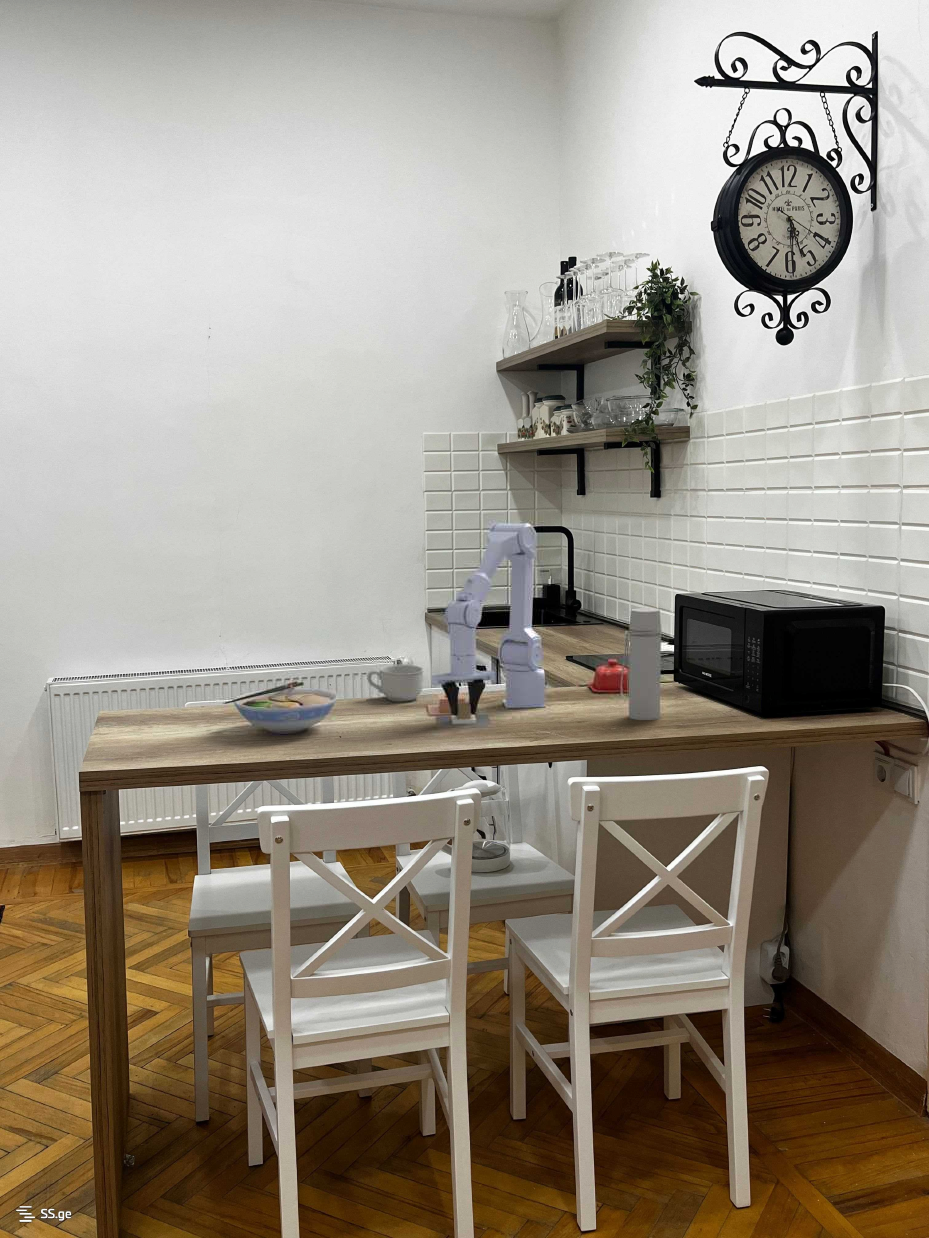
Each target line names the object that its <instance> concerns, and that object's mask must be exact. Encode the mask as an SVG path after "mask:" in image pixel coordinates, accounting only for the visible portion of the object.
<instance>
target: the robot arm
mask: <svg viewBox="0 0 929 1238" xmlns="http://www.w3.org/2000/svg"><path fill="white" fill-rule="evenodd" d="M537 534H538V533H537V532H536V530H535V528H534V527H533V525H532V524H531V523H527V522H526V523H500V522H495V523H493V524H492V525H491V527H490V528H489V532H487V534H486V539H487V547H486V550H485V552H484V554H483V556H482V559H481V561H480V563H479V565H478V568H477V570H476V572H475V573H471V574H469V575H468V577H467V579H466V581H464V584H463V586H462V588H461V589H460V591H459V593H458V595H457V597H456V598H455V600H453V601H451V602H450V603H448V604H447V606H446V607H445V611H444V612H445V613H444V614H443V618H444V621H445V624H446V625H447V626H446V627H447V632H448V633H449V642H450V643H449V649H450V650H449V654H450V655H449V656H450V659H449V660H450V662H449V663H450V665H449V666H450V667H449V668H450V672H447V673H442V674H434V675H431V685H433V686H441V688H442V690H443V692H444V694H446V696H447V699H448V702H449V705H450V709H451V714H452V715H454V716H458V694H460V687H459V686H457V685H458V683H459V684H460V683H466V684H467V690H468V698H469V699H468V703H470V705H471V713H472V714H476V713H477V709H478V706H479V705H478V704H479V701H480V698H481V696H482V694H483V691H484V690H485V688H486V681H495V680H496V679H495V675H496V674H495V673H496V672H495V671H493V670H479V671H478V670H477V647H476V646H477V645H476V644H477V643H476V641H477V640H476V639H477V638H476V635H477V633H476V632H477V630H476V628H477V626H478V624H479V623H480V622H481V620H482V611H483V609H484V605H483V604H484V602H485V600H486V598H487V596H488V594H489V593H490V591H491V589H492V582H491V578H493V575H494V574H495V572H496V571H497V570H498V567H499V566H500V565H501V563H502V562H503V561H504V559H505V557H506V558H507V560H508V561H509V562H510V563H511V574H510V575H511V578H510V579H511V580H510V603H509V604H510V607H509V609H510V610H509V628H508V629H507V630H506V631H505V632H504V633H502V634H501V636H500V642H499V643H500V644H499V646H498V650H497V658H498V660H499V663H500V664H501V665H502V668H503V669H505V699H503V700H502V703H503V705H504V707H505V708H506V709H524V708H528V709H529V708H546V674H545V670H544V668H539V667H540V666H541V665H542V663H543V660H544V650H543V646H542V636H540V635H539V634H538V633H537V632H536V631H535V630H534V629H533V628H532V627H533V626H532V625H533V623H532V622H533V600H534V599H533V597H534V594H533V593H534V570H535V567H534V566H535V558H536V557H537ZM452 715H451V716H452ZM476 715H477V714H476Z"/></svg>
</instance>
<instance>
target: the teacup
mask: <svg viewBox="0 0 929 1238" xmlns="http://www.w3.org/2000/svg"><path fill="white" fill-rule="evenodd" d="M423 673H424V667H421V666H420V665H419V666H418V665H413V664H390V665H386V666H383V667H381V668H380V670H377V669H371V670H370V671H369V672H368V673H367V675H366V681H367V682H368V683H369V685H370V686H372V688H374V689H376V690H378V692H379V693H380V694H383V695H384V696H385V697H386V698H387V700H390V701H392V702H399V703H400V702H410V701H413V700H416V699H417V698H418V696H420V695H421V693H422V691H423V682H424V674H423ZM373 675H377V676H378V679H379V681H380V685H378V684H376V683H375V682H373V680H372V676H373Z"/></svg>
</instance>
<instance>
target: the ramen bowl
mask: <svg viewBox="0 0 929 1238" xmlns="http://www.w3.org/2000/svg"><path fill="white" fill-rule="evenodd" d="M300 686H304V681H303V682H302V681H300V682H298V681H293V682H289V683H286V684H283V685H279V686H275V687H272V688H269V689H262V690H256V691H255V690H254V691H250V692H246V693H242V694H240V695H237V696H235V697H234V698H233V699H232V700H229V701H226V702H223V703H222V705H223V704H227V705H228V704H231V703H232V704H233V705H234V707H235V709H236V710H237V711H238V712H239V713H240V715H241V716H242V717H243V718H244V719H245V720H246V721H247V722H248V723H250V724H251V725H253V726H255V727H258V728H259V729H263V730H267V731H269V732H270V733H272V734H280V735H287V734H296V733H300V732H302V731H304V730H306V729H308V728H310V727H312V726H315V725H316V724H318V723H321V722H322V721H323V720H325V718H326V717H327V716H328V715H329V714H330V712H331V710H332V709H333V707H334V706H335V703H336V702H337V698H338V696H339V694H337V693H336V692H334V691H332V690H326V689H322V688H321V689H320V688H308V687H307V688H306V687H300Z"/></svg>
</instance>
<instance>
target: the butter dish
mask: <svg viewBox="0 0 929 1238" xmlns="http://www.w3.org/2000/svg"><path fill="white" fill-rule="evenodd" d="M607 663H608V664H606V665H602V666H598V667H597V668H596V669H595V672H594V675H593V679H592V680H593V681H592V682H588V686H589V687H590V689H591V691H593V692H595V693H598V694H605V693H606V694H616V693H617V694H618V693H620V694H621V687H620V685H621V677H622V669H623V665H619V664H618V660H617V659H615V658H610V659H608V660H607ZM622 692H623V694H624V693H625V694H627V667H625V666H624V672H623V681H622Z"/></svg>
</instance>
